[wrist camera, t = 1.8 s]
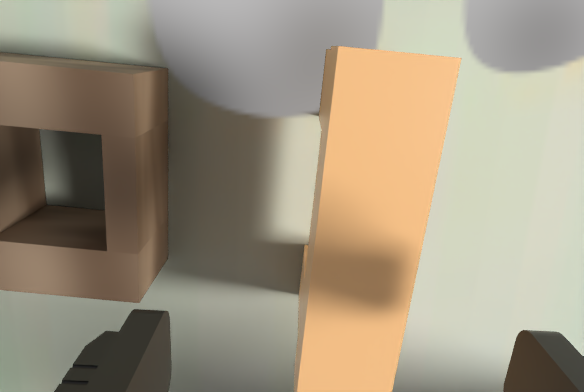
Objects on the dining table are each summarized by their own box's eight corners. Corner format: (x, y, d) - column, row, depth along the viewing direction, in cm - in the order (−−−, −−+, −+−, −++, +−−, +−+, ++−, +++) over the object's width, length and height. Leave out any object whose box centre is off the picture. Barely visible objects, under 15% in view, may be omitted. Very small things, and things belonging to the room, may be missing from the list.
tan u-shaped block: (324, 46, 18) (338, 46, 11) (395, 53, 18) (461, 57, 11) (296, 296, 22) (292, 427, 15) (355, 302, 22) (382, 435, 15)
